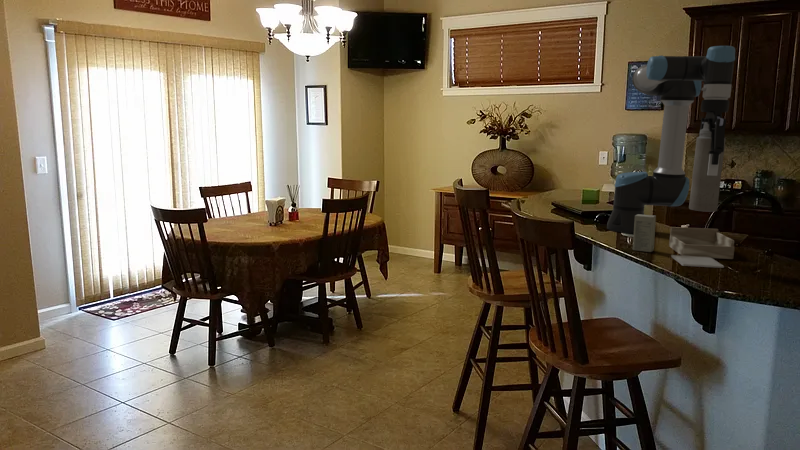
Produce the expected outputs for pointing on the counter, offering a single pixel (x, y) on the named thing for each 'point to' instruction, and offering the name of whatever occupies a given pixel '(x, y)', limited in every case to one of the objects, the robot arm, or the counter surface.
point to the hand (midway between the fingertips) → (706, 173)
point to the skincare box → (644, 232)
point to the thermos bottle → (705, 175)
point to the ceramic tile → (697, 261)
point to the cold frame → (701, 242)
